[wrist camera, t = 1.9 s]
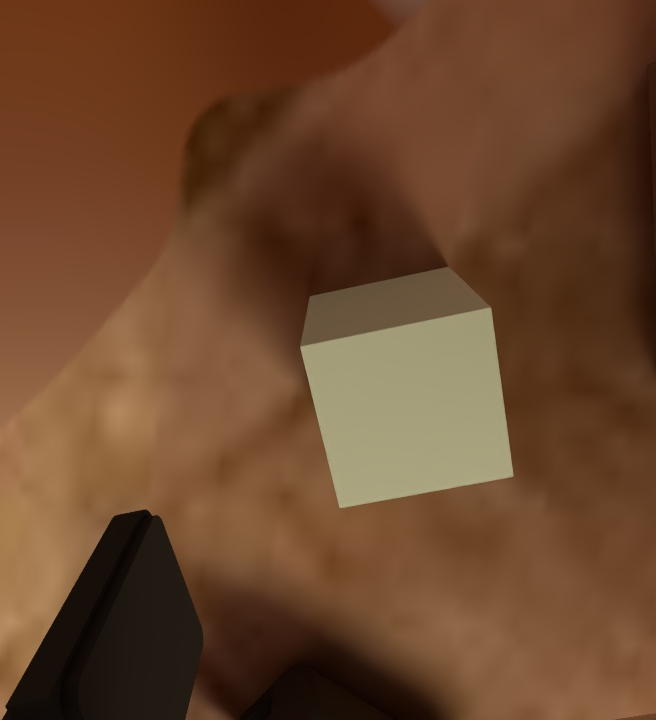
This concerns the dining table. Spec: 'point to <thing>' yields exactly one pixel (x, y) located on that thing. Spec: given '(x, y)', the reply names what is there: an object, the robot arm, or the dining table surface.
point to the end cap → (310, 700)
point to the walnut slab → (653, 135)
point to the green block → (406, 387)
